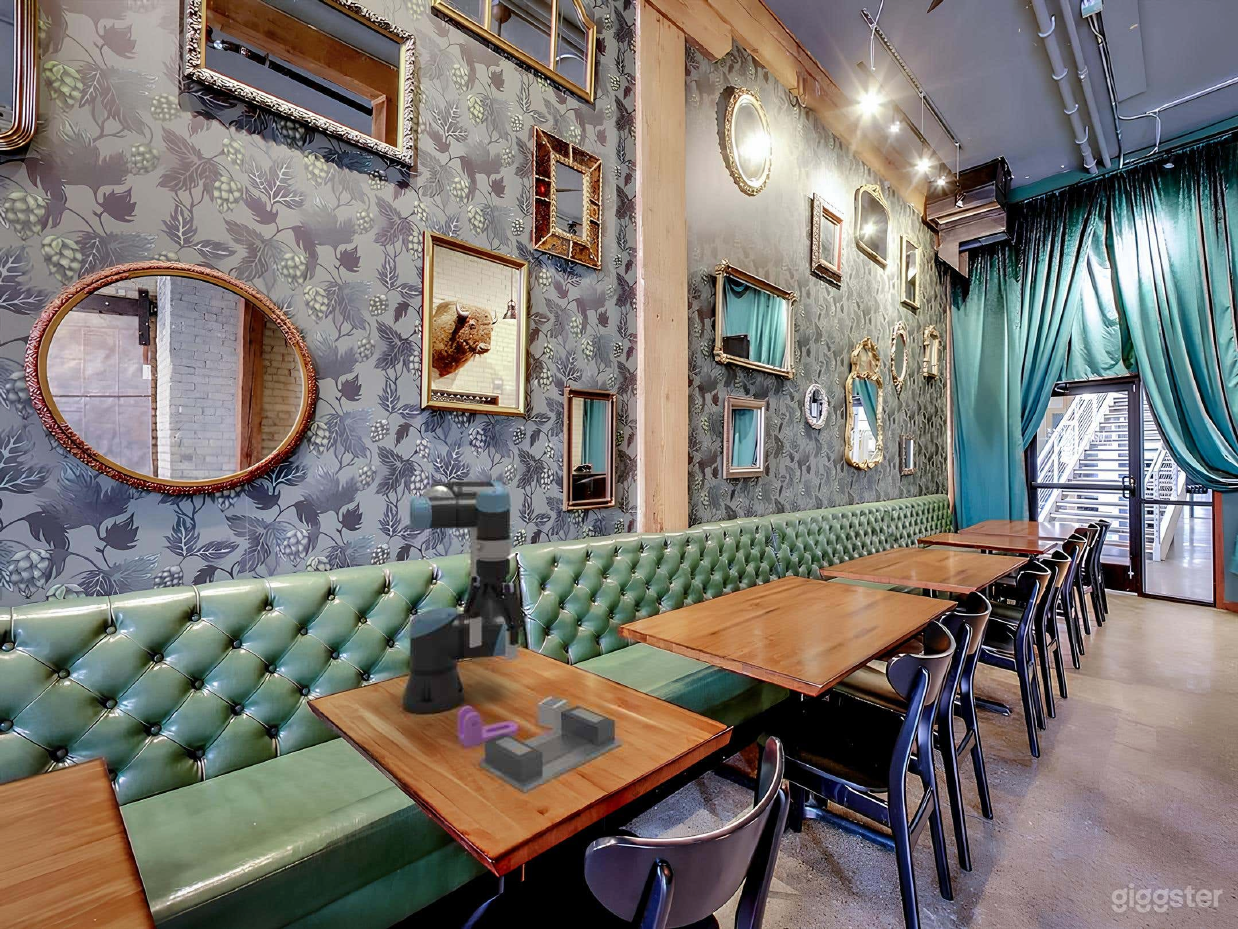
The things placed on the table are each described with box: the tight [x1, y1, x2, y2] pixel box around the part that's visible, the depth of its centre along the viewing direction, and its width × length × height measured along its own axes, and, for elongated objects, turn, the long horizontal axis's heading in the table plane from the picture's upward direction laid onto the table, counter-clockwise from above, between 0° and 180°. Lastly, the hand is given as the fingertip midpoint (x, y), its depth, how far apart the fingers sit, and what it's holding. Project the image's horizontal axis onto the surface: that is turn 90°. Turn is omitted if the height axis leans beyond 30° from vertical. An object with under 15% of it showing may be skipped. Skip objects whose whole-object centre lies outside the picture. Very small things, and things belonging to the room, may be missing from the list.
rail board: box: [478, 705, 622, 794], centre depth 121 cm, size 15×26×5 cm, turn 136°
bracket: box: [457, 705, 519, 749], centre depth 130 cm, size 13×6×7 cm, turn 122°
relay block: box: [537, 696, 568, 730], centre depth 137 cm, size 5×5×5 cm
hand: (492, 652), depth 131 cm, fingers open, 13 cm apart
